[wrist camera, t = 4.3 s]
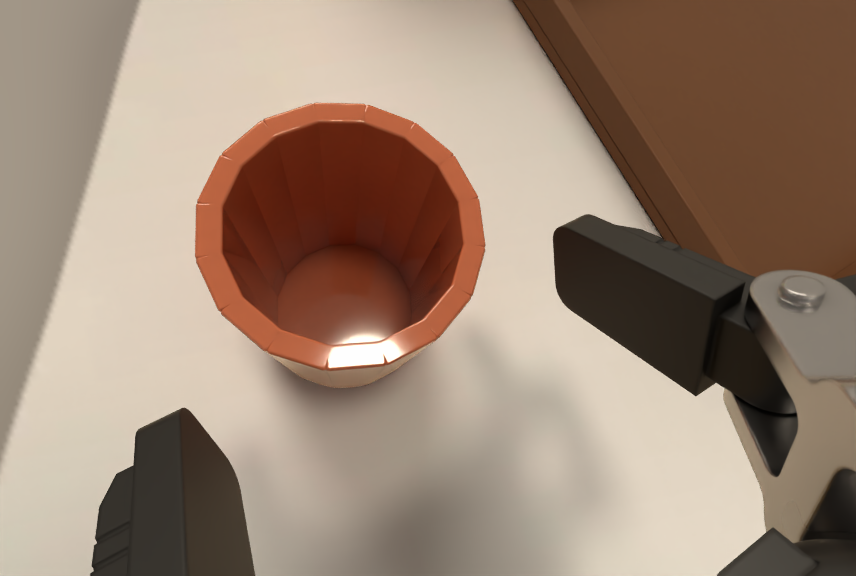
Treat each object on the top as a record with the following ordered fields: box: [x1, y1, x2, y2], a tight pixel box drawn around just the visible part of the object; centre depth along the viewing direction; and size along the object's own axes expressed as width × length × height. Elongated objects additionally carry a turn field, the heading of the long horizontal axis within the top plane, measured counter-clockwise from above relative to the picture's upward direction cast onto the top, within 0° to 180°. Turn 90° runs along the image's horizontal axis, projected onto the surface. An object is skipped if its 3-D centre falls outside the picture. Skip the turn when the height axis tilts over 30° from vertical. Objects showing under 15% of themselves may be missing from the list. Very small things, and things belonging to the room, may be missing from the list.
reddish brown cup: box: [195, 103, 485, 388], centre depth 13 cm, size 6×6×8 cm
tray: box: [513, 0, 856, 280], centre depth 24 cm, size 30×21×2 cm
